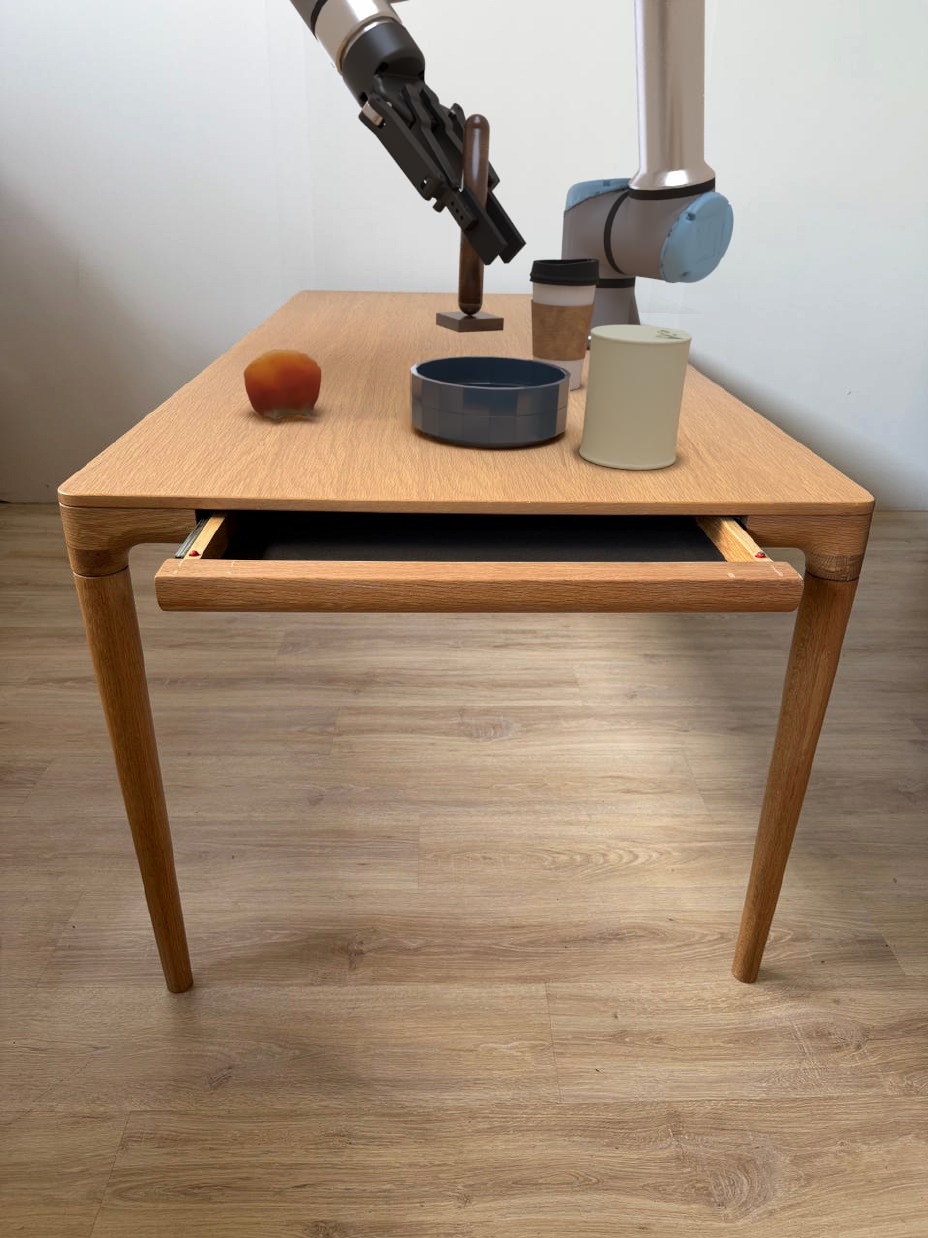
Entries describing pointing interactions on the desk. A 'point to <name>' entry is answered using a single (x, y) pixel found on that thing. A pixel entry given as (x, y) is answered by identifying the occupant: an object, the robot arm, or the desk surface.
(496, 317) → the stick
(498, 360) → the bowl
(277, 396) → the fruit
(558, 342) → the coffee cup
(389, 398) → the desk surface
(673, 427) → the can
